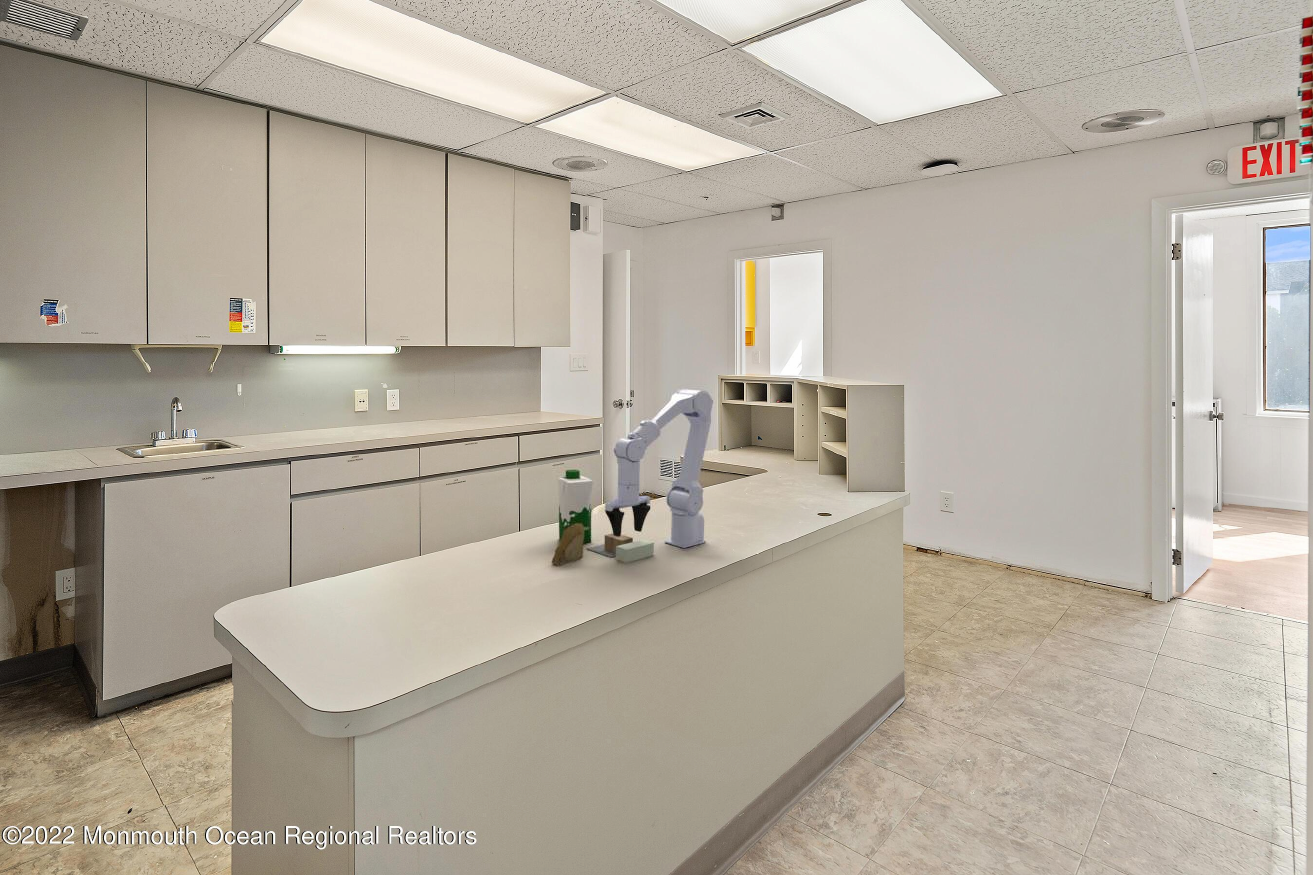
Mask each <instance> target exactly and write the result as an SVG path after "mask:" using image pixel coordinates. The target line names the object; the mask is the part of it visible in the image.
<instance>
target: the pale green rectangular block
mask: <svg viewBox="0 0 1313 875" xmlns="http://www.w3.org/2000/svg"><path fill="white" fill-rule="evenodd" d="M654 547H655V542H653V541H649V540H646V539H640V540H636V541H633V542H632V543H628V544H624V545H619V546H616V556H615V560H616V561H620V562H622V563H626V564H627V563H631V562H635V561H639V560H641V559H646V558H649V557H652V556H655V555H654V552H655V550H654V549H655V548H654Z"/></svg>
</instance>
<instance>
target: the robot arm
mask: <svg viewBox="0 0 1313 875" xmlns="http://www.w3.org/2000/svg"><path fill="white" fill-rule="evenodd" d="M670 397H671V399H670V401H669V402H668V403H667V404H665V405H664V407H663V408H662V409H661V410H660V411H659V412H657V414H656V415H655V416H654V417H653V418H652V419H651V420H650V419H645V420H641V421H640V422H639V426H638V427H636V428H635V429H634V430H633V431H632V432H629V433H628V435H627V436H626V437H624V438H623V437H622V438H620V439H618V441H617V442H616V444H615V447H614V448H613V453H614V456H615V457H616V463H617V497H615V499H614V500H611V501H607V502H605V503H604V505H605V506H604V512H605V514H606V517H607V518H608V521H609V523H610V526H611V531H612V533H613V535H614V536H617V537H620V536H621V535H622V525H623V520H624V516H625V511H621V509H624V508H630V507H631V509H632V514H633V528H634V531H635V532H639V533H641V532H642V530H643V526H644V524H645V522H646V521H645V520H646V517H647V516H648V513H649V512H650V510H651V505H650V504H651V496H648V495H641V496H640V469H641V468H640V464H641V461H640V460H642V459H643V458H644V456H645V452H646V450H647V449H648V447H650V446H651V444H653V443H654V442H655V441H656V440H657V439H658V438H659V437H660V436H661V430H662V429H663V428H664V427H665V426H666V425H668V424H669V423H670V422H671V421H673V419H675V418H677V417H678V416H679V415H681V414H682V415H683V416H685V418H686V419H687V420H688V422H689V423H690V426H689V432H688V435H687V440H686V446H685V449H684V450H685V451H684V453H683V454H684V455H683V459H682V463H681V467H680V472H679V476H678V478H676V479H675V480H673V481H672V483H671V486H670V489H669V490H668V492H667V495H666V497H665V498H666V504H667V506H668V507H669V510H670V512H671V523H670V524H671V525H670V527H671V529H670V530H671V531H670V539H666V540H664V543H665V544H666V543H667V544H669V545H673V546H676V547H679V548H682V549H685V548H689V547H692V546H696V545H700V544H704V543H707V540H706V539H705V537H704V536H705V517H704V515H703V514H702V512H700V511H701V510H702V508H703V504H704V499H703V494H704V489H703V486H701V484H700V483H699V482H700V481H699V478H700V474H701V471H702V470H701V469H702V465H703V460H704V457H705V450H706V446H707V442H708V437H709V432H710V429H711V428H710V427H711V423H712V408H713V404H714V400H713V399H712V396H711V395H710V393H709V392H708V391H706V390H704V389H702V390H701V389H700V390H699V389H698V390H697V389H696V390H695V389H687V388H680V389H678V390H677V391H676V392H675V393H674V394H672V395H671V396H670Z"/></svg>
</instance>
